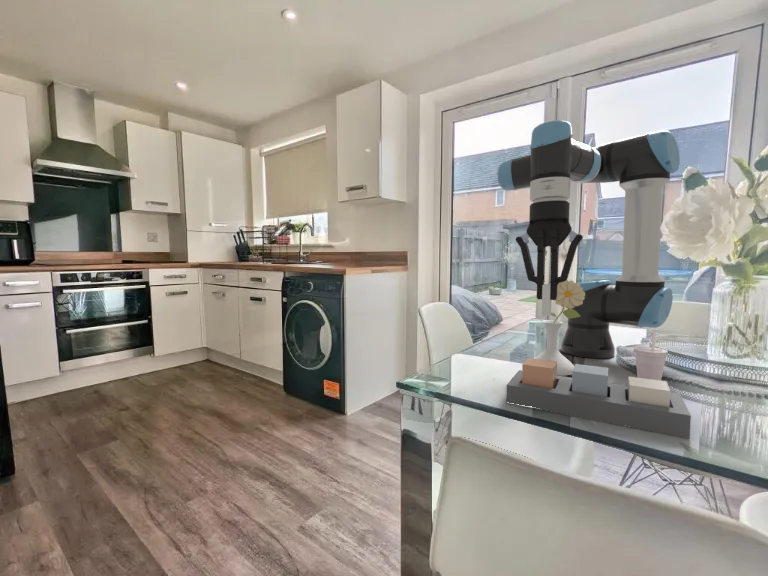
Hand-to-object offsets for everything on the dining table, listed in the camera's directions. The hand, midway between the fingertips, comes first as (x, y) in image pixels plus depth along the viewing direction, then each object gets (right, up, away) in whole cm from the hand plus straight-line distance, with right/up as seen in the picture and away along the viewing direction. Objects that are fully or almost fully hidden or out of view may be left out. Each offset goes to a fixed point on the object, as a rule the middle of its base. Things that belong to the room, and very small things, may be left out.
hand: (546, 315), depth 78 cm
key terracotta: (-1, -15, +2) cm, 15 cm away
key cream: (+15, -17, -8) cm, 24 cm away
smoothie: (+26, -18, +6) cm, 32 cm away
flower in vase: (+11, -17, +20) cm, 28 cm away
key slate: (+7, -16, -3) cm, 18 cm away
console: (+7, -19, -3) cm, 20 cm away
